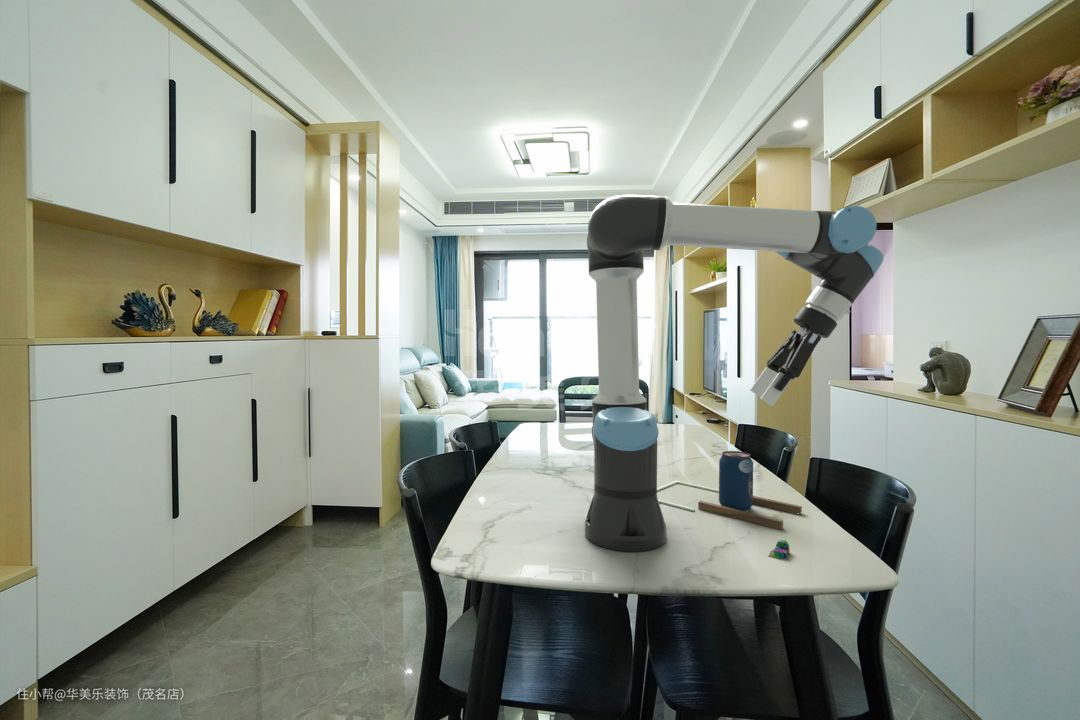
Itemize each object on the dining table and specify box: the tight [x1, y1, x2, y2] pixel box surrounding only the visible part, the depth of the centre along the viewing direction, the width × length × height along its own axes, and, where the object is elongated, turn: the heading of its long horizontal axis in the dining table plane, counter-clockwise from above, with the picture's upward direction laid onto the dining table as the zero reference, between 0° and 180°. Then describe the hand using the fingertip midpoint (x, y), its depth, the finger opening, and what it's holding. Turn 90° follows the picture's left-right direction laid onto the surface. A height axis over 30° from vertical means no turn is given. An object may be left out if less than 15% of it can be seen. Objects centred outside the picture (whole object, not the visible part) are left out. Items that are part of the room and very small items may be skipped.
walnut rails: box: [697, 495, 803, 530], centre depth 103 cm, size 13×17×2 cm
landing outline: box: [657, 480, 719, 512], centre depth 114 cm, size 18×14×1 cm
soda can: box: [718, 450, 754, 512], centre depth 105 cm, size 7×7×12 cm
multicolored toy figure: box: [767, 539, 790, 560], centre depth 82 cm, size 4×3×2 cm, turn 144°
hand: (760, 397), depth 104 cm, fingers open, 13 cm apart
